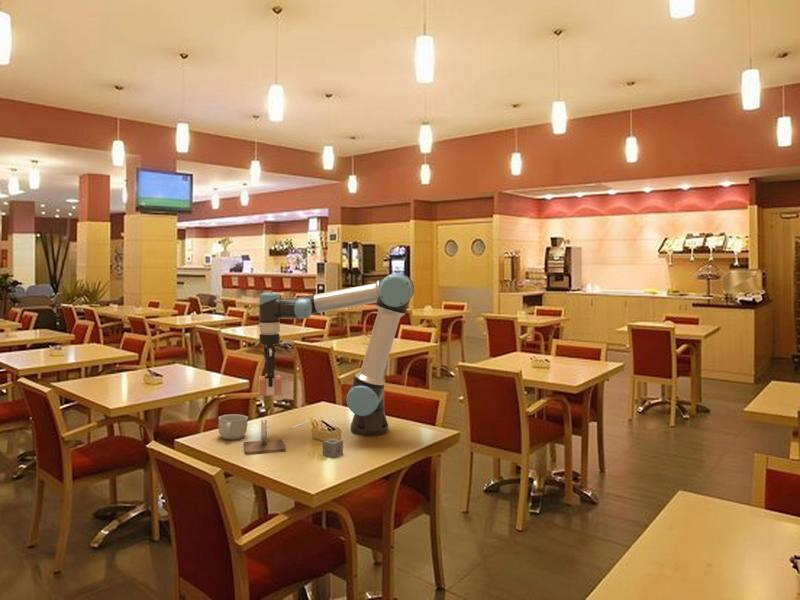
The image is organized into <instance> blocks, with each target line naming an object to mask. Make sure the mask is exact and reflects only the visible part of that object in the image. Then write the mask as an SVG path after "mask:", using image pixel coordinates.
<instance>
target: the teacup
mask: <svg viewBox="0 0 800 600" xmlns="http://www.w3.org/2000/svg"><path fill="white" fill-rule="evenodd" d="M248 421H249V416H247V415H243V414H235V413H234V414H233V413H232V414H231V413H230V414H224V415H220V416H218V433H219V435H220V436H221V437H222V438H223V439H225V440H231V441H232V440H238V439H241V438H243V436H245V435H246V433H247V430H248Z"/></svg>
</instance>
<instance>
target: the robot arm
mask: <svg viewBox="0 0 800 600" xmlns="http://www.w3.org/2000/svg"><path fill="white" fill-rule="evenodd" d="M414 293H415V285H414V282H413V280H412V279H411V278H410V277H409V275H406V274H404V273H391V274H388V275H387V276H386V277H384V278H382V279H378V280H377V281H376V282H375V283H374V282H373V283H369V284H364V285H357V286H353V287H347V288H342V289H337V290H332V291H327V292H321V293H316V294H310V295H304V296H299V297H296V298H295V297H294V298H291V297H290V298H284V297H283V298H282V297H281V296H280V293H278V292H262V293H260V294H259V303H258V307H259V309H258V313H259V314H258V315H259V316H258V317H259V318H258V319H259V320H258V321H259V324H258V325H257V328H259V335H258V336H259V339H258V340H259V344H260V345H265V347H264V348H263V353H264V360H265V367H264V370H265V375H264V376H265V378H267V395H271V396H275V395H274V376H276V375H275V358H276V355H275V354H276V348H275V347H274V345H278V344H280V331H281V322H280V319H299V320H302V319H309V318H310V317H311V316H312V315H315V314H319V313H325V312H330V311H336V310H342V309H348V308H352V307H353V308H354V307H358V306H364V305H370V304H375V307H376V309H377V315H376V317H375V320H374V321H375V322H374V323H373V328H372V332H371V335H370V338H369V342H368V344H367V347H366V351H365V354H364V358H363V361H362V363H361V368H360V371H359V372H356V373H355V374H354V377H353V380H352V384H351V387H350V389H349V390H348V392H347V395H346V404H347V408H348V409H349V411H351V412H352V413H353V417H352V420H351V423H350V432H351V433H352V434H353V435H357V436H365V437H366V436H368V437H369V436H375V437H376V436H380V435H384V434H387V433H388V432H389V428H390V427H389V422H388V419H387V417H386V413H385V383H386V381H385V376H384V373H385V370H386V368H387V364H388V360H389V356H390V352H391V349H392V346H393V343H394V340H395V337H396V333H397V330H398V326H399V323H400V320H401V318H402V317H403V316H405V315H406V314H407V311H408V308H409V304H410V302H411V299H412V297H413V296H414Z"/></svg>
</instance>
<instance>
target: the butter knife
mask: <svg viewBox="0 0 800 600" xmlns="http://www.w3.org/2000/svg"><path fill="white" fill-rule="evenodd" d="M308 422H311V421H310V419H308V420H306V421H304V422H300V423H299V424H295V425H293V426H291V427H290V429H296V428H298V427H301V426H302V425H304V424H306V423H308Z"/></svg>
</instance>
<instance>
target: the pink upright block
mask: <svg viewBox="0 0 800 600" xmlns="http://www.w3.org/2000/svg"><path fill="white" fill-rule="evenodd" d="M265 376H266V375H259V376H258V392H259V397H268V396H269V397H270V396H272V395H267V378H265ZM282 392H283V391H282V377H281V374H279V375H275V376H274V395H273V396H282Z"/></svg>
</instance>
